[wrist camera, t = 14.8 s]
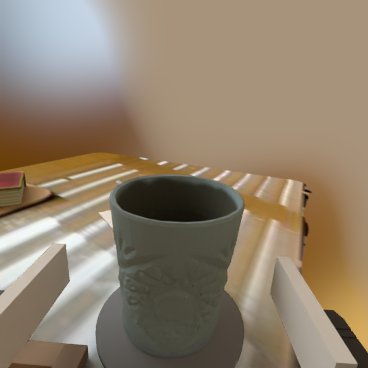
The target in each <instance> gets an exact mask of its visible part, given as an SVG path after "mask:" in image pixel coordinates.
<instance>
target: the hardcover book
mask: <svg viewBox="0 0 368 368" xmlns="http://www.w3.org/2000/svg"><path fill="white" fill-rule="evenodd" d="M24 187H26V180H25V174H24V172H11V173H0V207H2V206H10V205H18V204H22V198H23V192H24Z"/></svg>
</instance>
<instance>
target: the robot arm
mask: <svg viewBox="0 0 368 368" xmlns="http://www.w3.org/2000/svg"><path fill="white" fill-rule="evenodd" d="M69 281H70V279H69V270H68V261H67V252H66V244H57V243H53V244H52V245H51V246H50V247H49V248H48V249H47V250H46V251H45V252H44V253H43V254H42V255H41V256H40V257H39V258H38V259H37V260H36V261H35V262H34V263H33V264H32V265H31V266H30V267H29V268H28V269H27V270H26V271H25V272H24V273H23V274H22V275H21V276H20V277H19V278H18V279H17V280H16V281H15V282H14V283H13V284H12V285H10V286H9V287H8V288H7V289H6V290H5V291H3V290H0V368H9V366H10V365H11V363H12V362H13V361H14V359H15V358H16V356H17V355H18V353H19V352H20V351H21V349H22V348H23V346H24V345H25V344H26V342H27V341H28V339H29V338H30V336H31V335H32V334H33V332H34V331H35V329H36V328H37V327H38V325H39V324H40V322H41V321H42V319H43V318H44V317H45V315H46V314H47V312H48V311H49V310H50V308H51V307H52V305H53V304H54V302H55V301H56V300H57V298H58V297H59V295H60V294H61V293H62V291H63V290H64V288H65V287H66V285H67V284H68V283H69ZM270 294H271V296H272V298H273V301H274V303H275V306H276V308H277V311H278V313H279V315H280V318H281V320H282V323H283V325H284V328H285V330H286V332H287V335H288V337H289V340H290V342H291V345H292V347H293V349H294V352H295V354H296V357H297V359H298V361H299V364H300V366H301V368H368V353H367V351H366V350H365V349H364V347H363V346H362V344H361V343H360V342H359V340H358V339H357V337H356V336H355V334H354V333H353V332H352V331H351V329H350V327H349V326H348V324H347V323H346V322H345V320H344V319H343V318H342V317H340V316H339V315H338V314H337V313H336V312H335V311H334V310H323V309H322V307H321V306H320V304H319V302H318V301H317V300H316V298H315V296H314V295H313V293H312V291H311V290H310V288H309V287H308V285H307V284H306V282H305V280H304V279H303V277H302V276H301V274H300V273H299V271H298V269H297V268H296V266H295V265H294V263H293V262H292V260H291V258H290V257H282V256H277V259H276V264H275V270H274V275H273V281H272V287H271V292H270Z"/></svg>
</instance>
